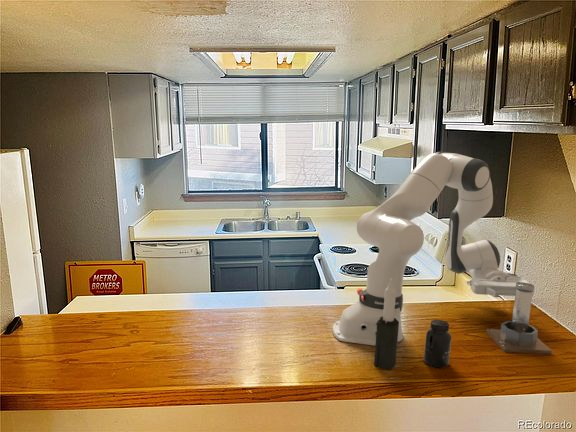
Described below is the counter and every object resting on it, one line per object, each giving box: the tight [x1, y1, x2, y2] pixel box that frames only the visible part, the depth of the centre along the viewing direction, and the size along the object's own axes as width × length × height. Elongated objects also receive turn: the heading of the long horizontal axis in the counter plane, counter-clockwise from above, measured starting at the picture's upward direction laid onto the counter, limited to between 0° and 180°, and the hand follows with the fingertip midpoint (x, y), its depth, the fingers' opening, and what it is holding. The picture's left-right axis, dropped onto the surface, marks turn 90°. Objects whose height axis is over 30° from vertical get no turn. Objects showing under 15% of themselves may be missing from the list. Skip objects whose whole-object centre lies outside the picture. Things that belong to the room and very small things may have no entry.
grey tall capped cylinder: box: [511, 282, 535, 333], centre depth 141 cm, size 5×5×18 cm
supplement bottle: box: [423, 319, 452, 369], centre depth 128 cm, size 7×7×12 cm
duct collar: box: [486, 320, 553, 355], centre depth 143 cm, size 14×14×5 cm
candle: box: [373, 279, 399, 371], centre depth 124 cm, size 5×5×25 cm
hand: (511, 295), depth 149 cm, fingers open, 8 cm apart
